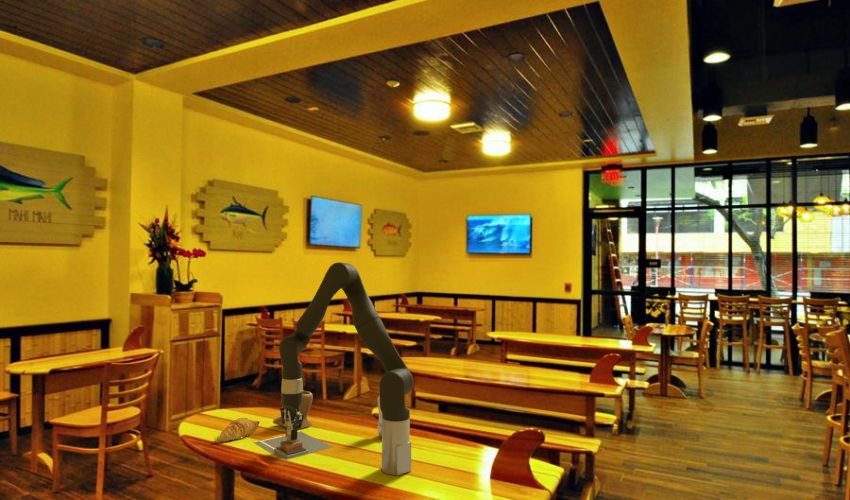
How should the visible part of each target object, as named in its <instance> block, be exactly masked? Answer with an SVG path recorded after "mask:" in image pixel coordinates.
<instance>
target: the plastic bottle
mask: <svg viewBox="0 0 850 500" xmlns="http://www.w3.org/2000/svg"><path fill="white" fill-rule="evenodd" d="M376 400H377V408H378V421H377V422H378V423H377V424H378V425H377V429H376V430H377V432H376V433H377V435H378V437H379V438H382V412H381V409H380V394H378V397H377V399H376Z"/></svg>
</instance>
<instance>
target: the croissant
mask: <svg viewBox="0 0 850 500" xmlns="http://www.w3.org/2000/svg"><path fill="white" fill-rule="evenodd" d="M259 425H260V421H259V420H251V419H248V418H246V417H245V418H244V417H240V418H237V419H233V420H232V421H231V422H230V423H229V424H228V425H227V426H226V427H225V429H224V430H223V431H221V432H220V434H219V435H218V436H217V437H216V440H217V442H220V443H221V442H223V443H224V442H230V441H229V440H232V441H235V440H234V439H238V438H241V437H244V438H246V437H245V436H247V435H249V434H251V433H252V432H253V431H254V430H255V431H256V430H257V429H258V428H259ZM255 431H254V432H255ZM254 432H253V433H254ZM253 433H252V434H253ZM252 434H251V435H252ZM249 436H250V435H249ZM247 437H248V436H247ZM238 440H239V439H238Z"/></svg>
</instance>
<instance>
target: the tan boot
mask: <svg viewBox="0 0 850 500" xmlns="http://www.w3.org/2000/svg"><path fill="white" fill-rule="evenodd" d="M313 396H314V395H313V393H312V392H311V391H306V390H303V402H302V403H301V404H300V405H299V409H300V413H301V414H302V413H303V414H304V418H303V422H302V426H301V428H299V429H298V430H303V429H306V428H308V427H310V426H311V425H312V422H311V421H310V420H309V419H308V415H309V412H310V409H311V408H312V404H313V403H312V402H313V400H314V397H313ZM272 423H273V424H275V425H277V426H282V427H285V426H284V424H282V418H281V416H278V417H276V418H274V419H273V420H272ZM298 425H299V424H298Z"/></svg>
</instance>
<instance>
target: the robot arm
mask: <svg viewBox="0 0 850 500" xmlns="http://www.w3.org/2000/svg"><path fill="white" fill-rule="evenodd" d="M365 288H366V287H365V285H364V284H363V280H362V278H361V275H360V273H359V271H358V269H357V267H356V266H354V265H353V264H350V263H348V262H342V261H341V262H339V261H338V262H334V263H332V264H331V265H330V266H329V267H328V269H327V271H326V272H325V274H324V277H323V278H322V281H321V283H320V285H319V287H318V289H317V291H316V293H315V294H314V297H312V299H311V301H310V303H309V305H308V306H307V307H306V309H305V310H304V311H303V313H302V315H301V316H300V317H299V319H298V320H297V322H296V324H295V330H294V332H293V333H292V334H291V335H287V336H284V337H282V339H281V340H280V343H279V345H278V346H279V349H278V352H279V357H280V362H281V366H282V373H281V374H282V377H281V378H282V379H281V389H280V390H281V392H280V393H281V395H280V397H281V398H280V401H281V402H280V403H281V405H282V407H280V408H279V411H280V417H281V418H282V424H284V426H283V427H285V434H284V435H285V436H286V437H287V425H286V424H287V421H288V420H289V423H290V424H291V440H292V441H293V440H297V432H298V430H300V429H299V428H301V426H302V422H303V418H304V414H303V413H302V414H301V413H300V409H299V405H300V404H301V403H302V402H303V391H304V380H303V363H302V362H301V361H300V360H299V357H298V354H300V353H302V352H303V351H304V350H305V349H306V347H307V346H308V345H309V342H310V340H311V338H312V336H313V334H314V333H315V331H316V330H317V329H318V327H319V326H320V324H321V323H322V321H323V320H324V317H325V316H326V314H327V313H326V312H327V310H328V307H329V305H330V302H331V301H332V299H333V297H334V296H335V295H336V294H337V293H338V292H339V291H340V290H341V289H342V292H343V293H344V295H346V298H347V300H348V302H349V304H350V308H351V315H352V316H351V317H352V323H353V326H354V328H355V331H356V333H357V335H358V336H359V338H360V340H361V342H362V343H363V345H364V346H365V347H366V348H367V349H368V350H369V351H370V352H371V353H372V354H374V355H375V356H376V358H377V359H378V360H379V361H380V363H381V364H382V366H383V368H384V370H385V372H384V374H383V375H382V376H381V377H380V380H379V388H378V389H379V392H378V393H379V395H380V409H381V412H382V437H381V471H382V472H383V473H384V474H387V475H392V476H394V475H395V476H397V477H398V476H400V475H404V474H406V473H409V472H411V471H412V442H411V441H410V433H411V432H410V429H411V428H410V427H411V426H410V424H411V421H410V418H411V414H410V413H411V412H410V408H409V407H407V406H406V404H405V403H406V401H405V396H406V395H407V394H409V393H410V392H411V391H412V390H413V388H414V385H415V383H414V382H415V381H414V377H413V374H412V373H411V371H410V369H409V368H408V366H407V365H406V363H405V362H404V359H402V357H401V355H400V354H399V352H398V350H397V348H396V347H395V344H394V343H393V340H392V338H391V337H390V335H389V333H388V331H387V329H386V327H385V324H384V322H383V321H382V318H381V317H380V315H379V314H378V312H377V309H376V308H375V306H374V304H373V302H372V301H371V298H370V297H369V295H368V293H367V291H366V289H365ZM294 419H295V420H294ZM292 420H293V421H292ZM293 423H294V425H293ZM298 424H299V425H298Z"/></svg>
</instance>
